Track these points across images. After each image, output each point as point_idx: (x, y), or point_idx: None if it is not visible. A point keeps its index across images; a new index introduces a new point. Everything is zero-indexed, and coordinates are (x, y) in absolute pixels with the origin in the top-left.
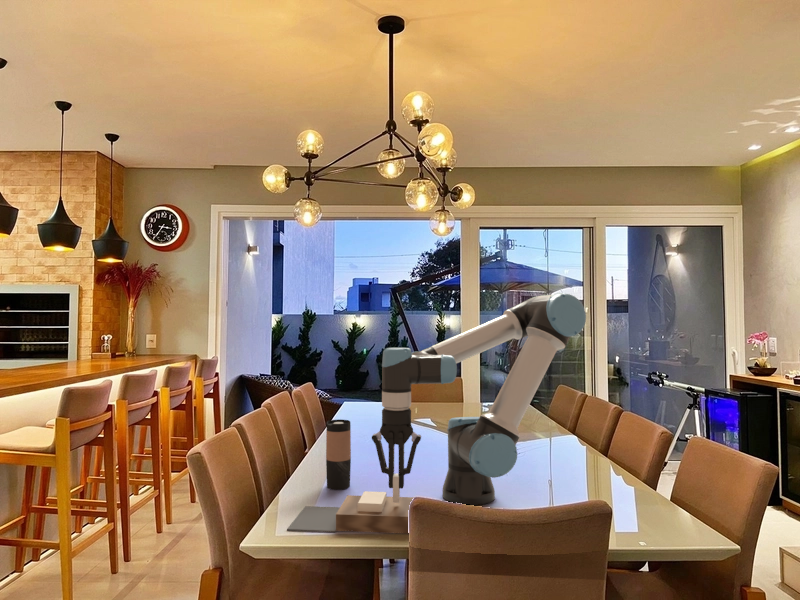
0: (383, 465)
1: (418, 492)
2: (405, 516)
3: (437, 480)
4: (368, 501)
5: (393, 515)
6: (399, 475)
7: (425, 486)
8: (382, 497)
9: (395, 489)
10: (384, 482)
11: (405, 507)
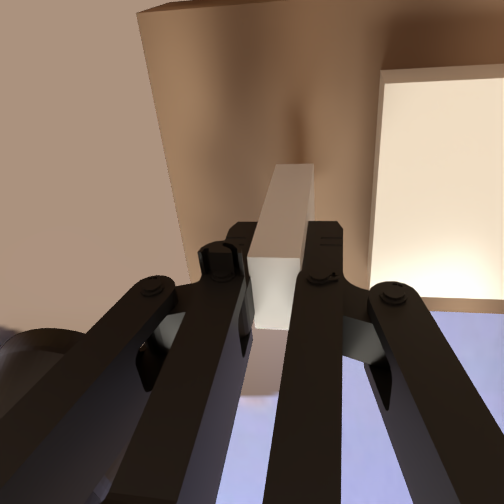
0: (403, 335)
1: (261, 427)
2: (211, 11)
3: (217, 499)
4: (491, 121)
5: (292, 14)
6: (236, 259)
7: (246, 466)
8: (387, 207)
9: (287, 203)
10: (397, 500)
11: (242, 167)
